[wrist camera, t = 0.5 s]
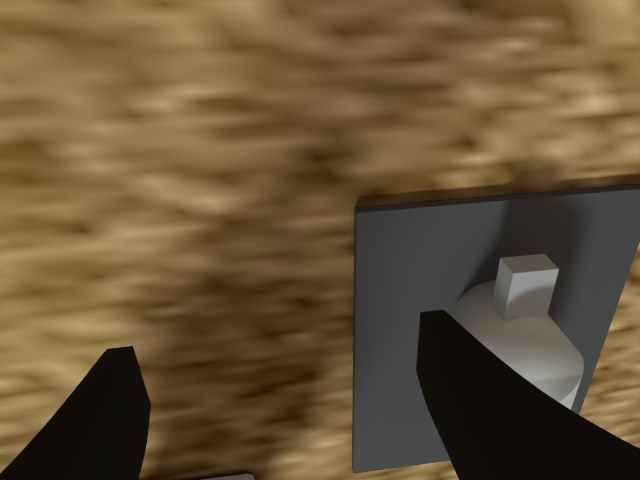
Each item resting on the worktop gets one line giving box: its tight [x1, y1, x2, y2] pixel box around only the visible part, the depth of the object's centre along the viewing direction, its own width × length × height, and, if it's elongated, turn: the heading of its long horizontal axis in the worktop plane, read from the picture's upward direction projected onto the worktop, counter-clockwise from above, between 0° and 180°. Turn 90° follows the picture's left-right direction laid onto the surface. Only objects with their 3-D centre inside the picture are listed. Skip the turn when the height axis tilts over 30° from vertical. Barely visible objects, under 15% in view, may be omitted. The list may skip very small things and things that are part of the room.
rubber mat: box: [352, 184, 640, 473], centre depth 27 cm, size 18×14×1 cm
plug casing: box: [450, 254, 584, 410], centre depth 24 cm, size 12×4×4 cm, turn 2°
